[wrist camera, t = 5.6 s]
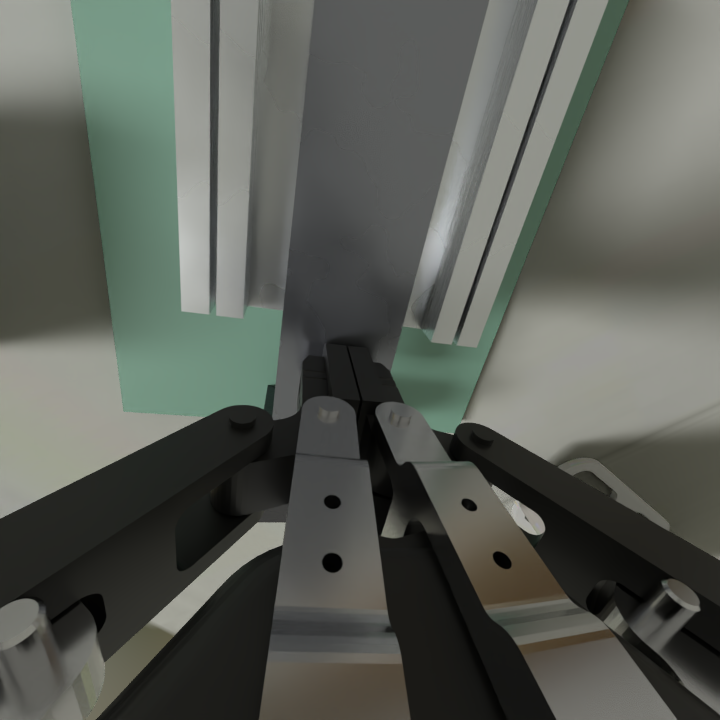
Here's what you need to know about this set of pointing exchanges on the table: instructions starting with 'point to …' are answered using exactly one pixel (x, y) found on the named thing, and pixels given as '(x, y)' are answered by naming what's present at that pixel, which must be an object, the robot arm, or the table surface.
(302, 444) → the robot arm
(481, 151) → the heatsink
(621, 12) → the mainboard
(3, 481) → the table surface
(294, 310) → the grey flat bar
